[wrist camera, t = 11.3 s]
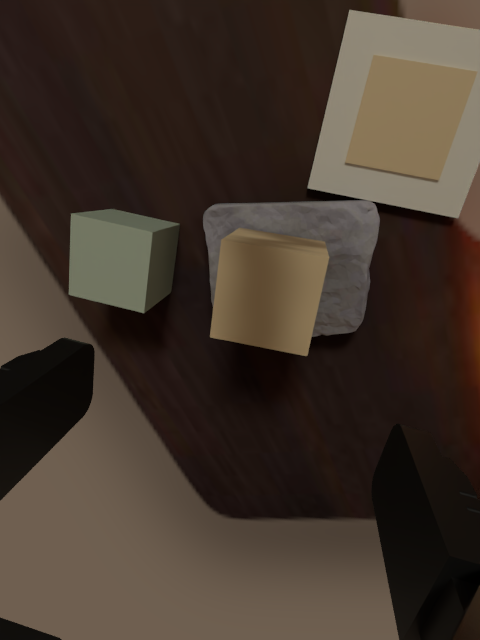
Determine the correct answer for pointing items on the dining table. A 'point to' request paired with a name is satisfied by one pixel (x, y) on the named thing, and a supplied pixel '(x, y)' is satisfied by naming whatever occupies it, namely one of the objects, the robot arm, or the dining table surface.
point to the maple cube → (268, 290)
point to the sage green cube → (122, 258)
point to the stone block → (317, 224)
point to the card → (402, 115)
